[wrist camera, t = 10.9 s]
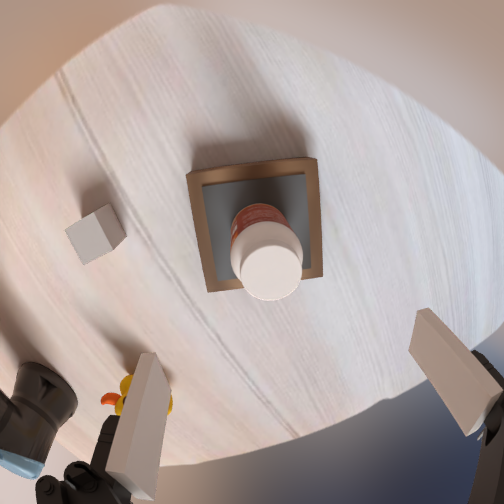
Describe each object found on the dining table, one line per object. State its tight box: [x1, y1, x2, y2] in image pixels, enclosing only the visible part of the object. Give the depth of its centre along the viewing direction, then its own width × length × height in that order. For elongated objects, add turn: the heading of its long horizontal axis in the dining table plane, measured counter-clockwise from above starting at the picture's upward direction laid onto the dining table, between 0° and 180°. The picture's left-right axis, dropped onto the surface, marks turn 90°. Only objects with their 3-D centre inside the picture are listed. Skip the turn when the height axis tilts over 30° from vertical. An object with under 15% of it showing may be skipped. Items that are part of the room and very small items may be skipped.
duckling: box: [101, 374, 173, 416], centre depth 40 cm, size 11×5×10 cm, turn 60°
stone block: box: [65, 203, 127, 265], centre depth 33 cm, size 5×5×5 cm
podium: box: [186, 157, 323, 292], centre depth 34 cm, size 14×14×4 cm
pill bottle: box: [230, 203, 303, 301], centre depth 27 cm, size 6×6×11 cm
